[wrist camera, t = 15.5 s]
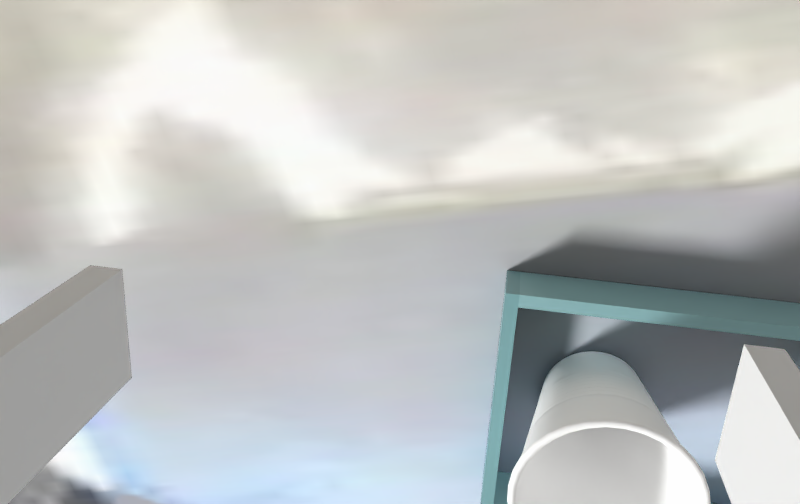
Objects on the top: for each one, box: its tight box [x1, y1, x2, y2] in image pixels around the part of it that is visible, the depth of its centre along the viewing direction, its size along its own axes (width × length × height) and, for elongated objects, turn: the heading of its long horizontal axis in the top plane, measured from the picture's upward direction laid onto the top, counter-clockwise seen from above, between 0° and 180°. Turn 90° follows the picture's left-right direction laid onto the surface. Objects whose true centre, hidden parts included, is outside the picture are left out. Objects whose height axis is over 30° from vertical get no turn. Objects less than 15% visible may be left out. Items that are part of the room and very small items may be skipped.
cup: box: [507, 351, 711, 504], centre depth 42 cm, size 10×10×11 cm
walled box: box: [481, 270, 800, 504], centre depth 45 cm, size 16×20×4 cm
